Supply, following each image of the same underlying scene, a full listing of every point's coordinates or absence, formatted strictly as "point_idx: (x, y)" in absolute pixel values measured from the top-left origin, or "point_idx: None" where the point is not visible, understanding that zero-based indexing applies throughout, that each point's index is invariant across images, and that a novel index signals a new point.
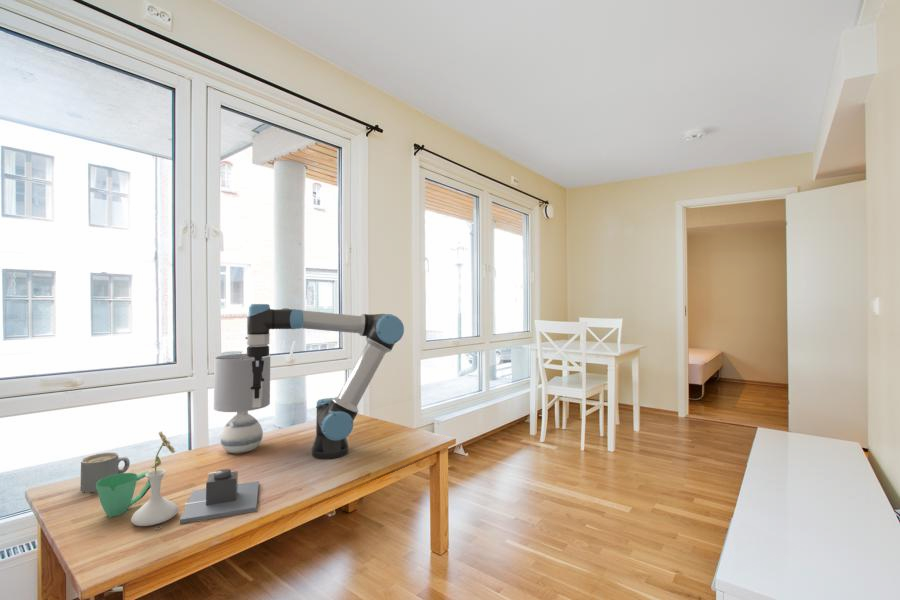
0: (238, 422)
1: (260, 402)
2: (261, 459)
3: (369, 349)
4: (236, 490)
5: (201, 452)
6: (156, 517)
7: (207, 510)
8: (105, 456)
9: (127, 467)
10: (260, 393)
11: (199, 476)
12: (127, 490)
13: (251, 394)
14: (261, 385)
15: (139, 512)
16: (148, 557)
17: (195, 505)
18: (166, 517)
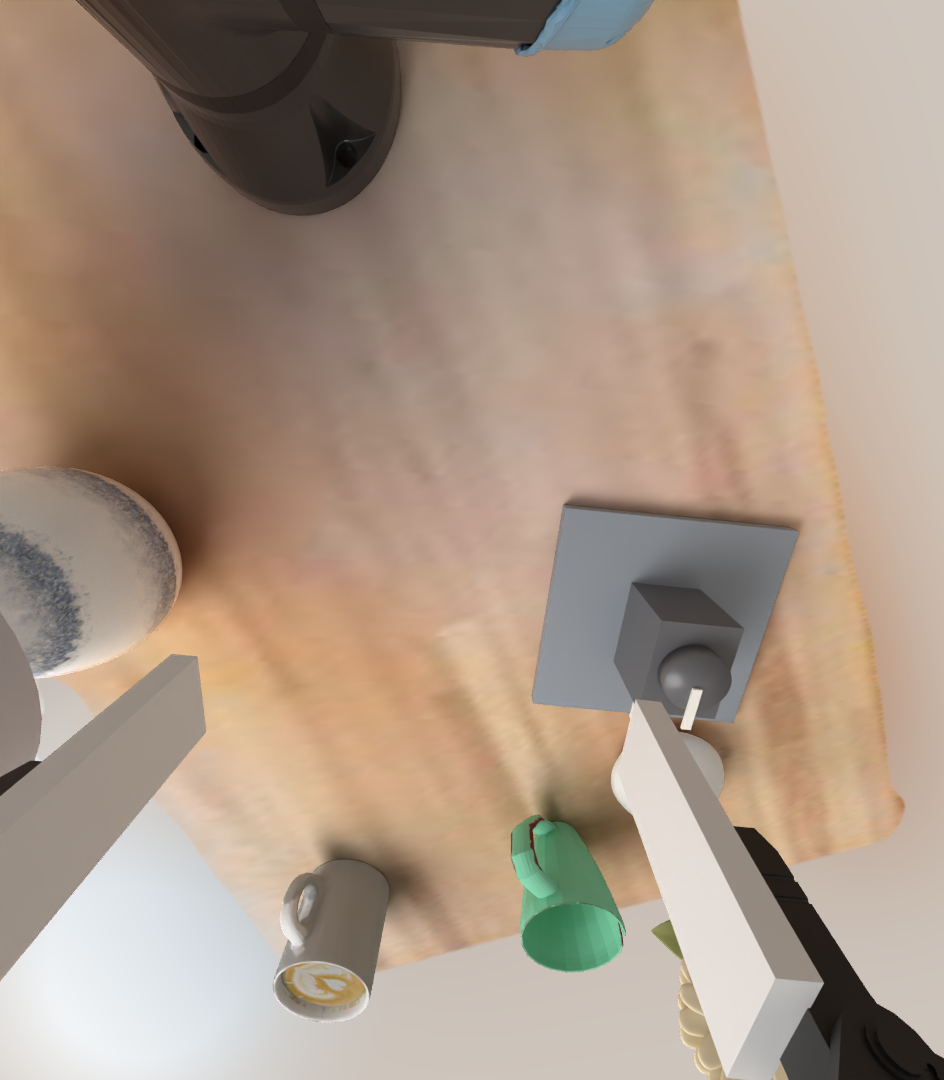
0: (34, 635)
1: (685, 748)
2: (275, 474)
3: None
4: (682, 597)
5: (115, 684)
6: (723, 780)
7: None
8: (286, 974)
9: (305, 882)
10: (758, 877)
11: (380, 683)
12: (605, 887)
13: None
14: (23, 827)
15: None
16: (862, 758)
17: None
18: (717, 755)
